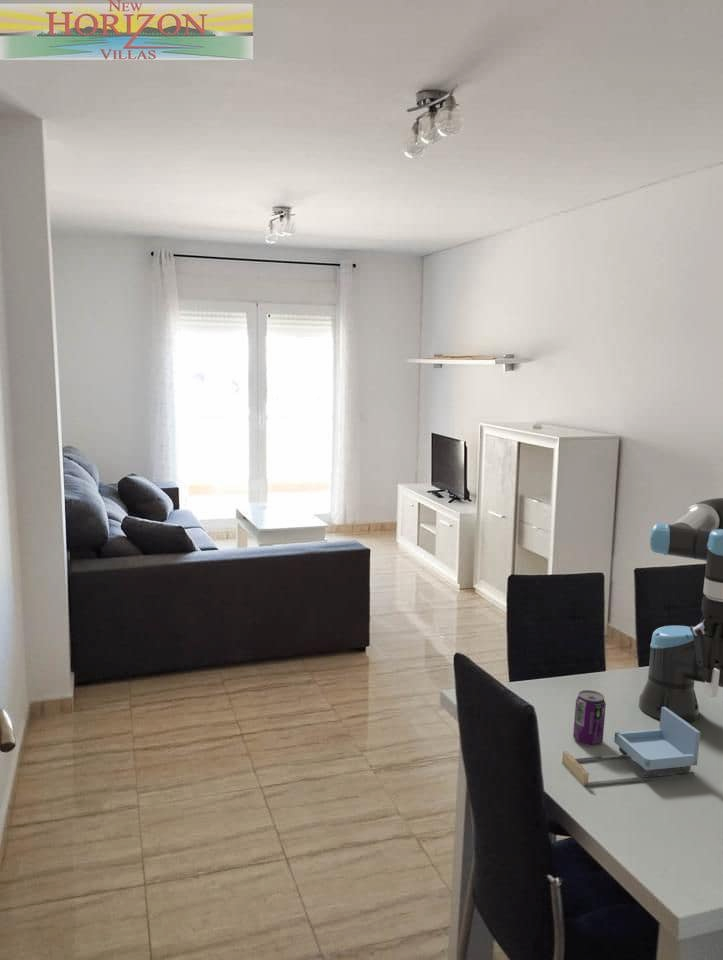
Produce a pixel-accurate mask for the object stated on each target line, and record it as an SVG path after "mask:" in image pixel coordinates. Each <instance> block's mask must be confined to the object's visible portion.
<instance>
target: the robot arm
mask: <svg viewBox="0 0 723 960" xmlns="http://www.w3.org/2000/svg"><path fill="white" fill-rule="evenodd" d="M649 547H650V550H651V551H652V552H653V553H655V554H661V555H664V556H674V557H680V558H687V559H694V560H698V561H699V560H700V561H706V563H705V573H704V582H703V591H702V592H703V596H702V598H701V599H702V600H701V612H702V616H701V618H700V621H699V623H698V624H697V625H691V626H686V625H664V626H661V627H658V628H656V629H655V630H654V631H653V632H652V635H651V642H650V645H649V646H650V651H649V663H648V664H649V665H648V676H647V680H646V683H645V684H644V687H643V689H642V693H641V694H640V696H639V700H638V707H639V709H640V710H641V711H642V712H643V713H644V714H646V715H648V716H649V717H652V718H655V719H658V720H660V718H661V707H666V708H668V709H669V710H670V711H672V712H673V713H675V714H676V715H677V716H679V717H680V718H682V719H683V720H684V721H686V722H687V723H691V722H693V721H696V720H697V719H698V718H699V711H700V709H699V708H700V707H699V704H698V699H697V695H696V691H695V682H700V683H703V684H704V687H703V693H704V694H705V695H707V696H709V697H710V698H718V691H719V688H723V497H717V498H710V499H709V498H708V499H706V500H701V501H699V502H695V503H694V504H691V505H690V506H689V507H687V509H686V510H685V511H684V514H683V515H682V516H681V517H680V518H679V519H677V520H676V521H675V522H673V523H672V524H668V523H656V524H654V525H653V527H652V529H651V531H650V540H649Z"/></svg>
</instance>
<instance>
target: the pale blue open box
mask: <svg viewBox="0 0 723 960" xmlns="http://www.w3.org/2000/svg"><path fill="white" fill-rule="evenodd" d="M700 738H701V731H700V730H698V729H697V728H695V726H693V725H691V724H690V722H686V721H684V720H683V719H682V718H680V717H679V716H677V715H676V714H675V713H673V712H672V711H670V710H669V709H668V708H666V707H661V718H660V719H659V728H655V729H643V730H642V729H641V730H640V729H639V730H631V731H618V732H614V738H613V739H614V741H613V742H614V743H615V744H616V745H617V746H618V747H619V748H618V750H619V752H620V754H623V755H627V754H628V755H629V756H630V757H632V758H631V759H632V760H634V761H635V762H636V763H637V764H638V765H639V766H640V767H642V768H643V774H644V775H645V776H648V777H652V776H655V775H656V773H657V771H656V770H662V769H670V768H678V770H679V771H680V773H685V774H686V773H688V772H691V767H693V766H697V765H698V761H699V747H700Z"/></svg>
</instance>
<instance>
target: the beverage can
mask: <svg viewBox="0 0 723 960" xmlns="http://www.w3.org/2000/svg"><path fill="white" fill-rule="evenodd" d="M606 704H607V703H606V701H605V695H604V694H602V693H601V692H598V691H596V690H591V689H583V690H580V691H578V694H577V697H576V699H575V706H574V707H575V710H574V718H573V719H574V720H573V734H572V737H573V739H574V740H576V742H578V743H580V744H582V745H585V746H591V747H592V746H597V745H601V744H602V743H603V741H604V732H605V731H604V729H605V717H606Z"/></svg>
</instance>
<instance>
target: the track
mask: <svg viewBox="0 0 723 960" xmlns="http://www.w3.org/2000/svg"><path fill="white" fill-rule="evenodd" d="M621 759H633V758H632V757H630V756H629V755H628V754H627V755H623V754H622V753H619V754H613V755H611V754H610V755H602V756H601V755H600V756H592V757H590V756H589V757H581V758H580V757H579V758H574V757H573V755H571V754H570V753H569V752H568V751H567V750H564V751H562V760H561V764H562V765H563V766H564V767H565V768H566V769H567V770H568V771H569V772H570V773H571V775H572V776H573V777H574V778H575V779H576V780H577V781H578V783H580V785H582V786H583V787H587V788H592V787H600V786H610V785H618V784H619V785H621V784H629V783H630V784H631V783H640V782H650V781H657V780H659V781H660V780H669V779H678V778H687V777H688V778H689V777H695V773H694V772H693V771H689V772H688V773H686V774H685V773H682V772H676V773H667V774H666V773H665V774H657V775H656V774H655V775H654V776H652V777H648V776H647V775H645V776H637V777H629V778H627V777H626V778H618V779H616V778H615V779H608V780H607V779H606V780H598V781H589V776H590V773H589V772H588V771H587V770H586V769H585V768H584V767H583V766H582V765H581V764H582V763H591V762H599V761H600V762H601V761H612V760H621Z"/></svg>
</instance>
